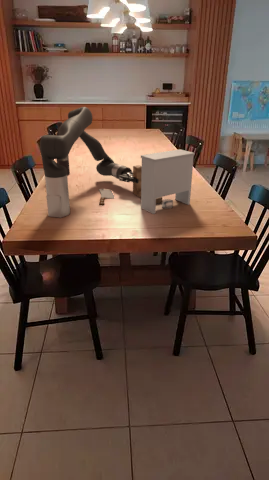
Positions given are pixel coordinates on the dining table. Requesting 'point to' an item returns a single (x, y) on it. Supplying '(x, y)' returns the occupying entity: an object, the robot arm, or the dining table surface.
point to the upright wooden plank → (137, 186)
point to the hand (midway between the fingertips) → (141, 180)
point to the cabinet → (166, 177)
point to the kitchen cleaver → (105, 195)
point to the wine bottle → (64, 161)
